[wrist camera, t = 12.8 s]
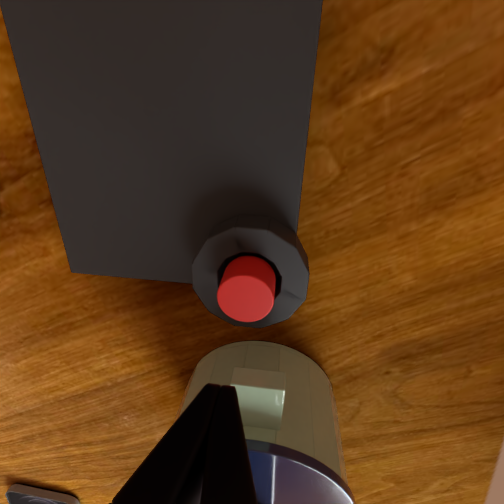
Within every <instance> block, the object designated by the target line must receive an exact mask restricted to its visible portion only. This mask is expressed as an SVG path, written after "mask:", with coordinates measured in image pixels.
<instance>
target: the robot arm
mask: <svg viewBox="0 0 504 504" xmlns="http://www.w3.org/2000/svg"><path fill="white" fill-rule="evenodd" d="M109 504H258V502H257V497H256V491H255V486H254V481H253V476H252V470H251V465H250V460H249V454H248V449H247V444H246V439H245V433H244V428H243V423H242V418H241V412H240V407H239V402H238V396H237V391H236V388H235V386H229V385H222V386H220V385H219V384H212V383H207V384H206V385H205V386H204V387H203V388H202V389H201V390H200V392H199V393H198V394H197V395H196V397H195V398H194V399H193V400H192V402H191V403H190V404H189V405H188V407H187V408H186V409H185V410H184V412H183V413H182V414H181V415H180V416H179V418H178V419H177V420H176V421H175V423H174V424H173V425H172V426H171V428H170V429H169V430H168V431H167V433H166V434H165V435H164V436H163V438H162V439H161V440H160V441H159V442H158V444H157V445H156V446H155V447H154V449H153V450H152V451H151V452H150V454H149V455H148V456H147V457H146V459H145V460H144V461H143V462H142V464H141V465H140V466H139V467H138V468H137V470H136V471H135V472H134V473H133V475H132V476H131V477H130V478H129V480H128V481H127V482H126V483H125V485H124V486H123V487H122V488H121V490H120V491H119V492H118V493H117V494H116V496H115V497H114V498H113V500H112V503H109Z"/></svg>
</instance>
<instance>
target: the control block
mask: <svg viewBox="0 0 504 504" xmlns="http://www.w3.org/2000/svg"><path fill="white" fill-rule="evenodd" d="M322 2H323V0H0V6H1V10H2V14H3V17H4V21H5V25H6V29H7V33H8V36H9V40H10V44H11V48H12V51H13V55H14V59H15V63H16V66H17V70H18V74H19V78H20V81H21V85H22V89H23V93H24V96H25V100H26V104H27V108H28V111H29V115H30V119H31V123H32V126H33V130H34V134H35V138H36V141H37V145H38V149H39V153H40V156H41V160H42V164H43V168H44V171H45V175H46V179H47V183H48V186H49V190H50V194H51V198H52V201H53V205H54V209H55V213H56V216H57V220H58V224H59V228H60V232H61V235H62V239H63V243H64V247H65V250H66V254H67V258H68V262H69V265H70V269H71V272H72V273H83V274H93V275H104V276H115V277H126V278H136V279H147V280H158V281H169V282H179V283H190V284H193V289H194V291H195V292H196V294H197V295H198V297H199V298H200V299H201V301H202V302H203V304H204V305H205V307H206V308H207V310H208V311H209V312H211V313H212V314H214V315H216V316H218V317H219V318H221V319H223V320H225V321H227V322H228V323H230V324H232V325H234V326H243V327H252V328H263V327H266V326H269V325H272V324H275V323H278V322H281V321H284V320H286V319H289V317H290V316H291V315H292V314H293V313H294V312H295V311H296V310H297V309H298V308H299V306H300V305H301V304H302V303H303V302H304V301H305V299H306V295H307V288H308V281H309V266H308V257H307V255H306V253H305V251H304V249H303V247H302V245H301V243H300V241H299V239H298V237H297V226H298V217H299V208H300V199H301V190H302V181H303V172H304V163H305V154H306V145H307V136H308V127H309V118H310V109H311V100H312V92H313V83H314V74H315V65H316V56H317V47H318V38H319V29H320V20H321V11H322ZM247 255H248V256H256V257H259V258H261V259H263V260H265V261H266V262H267V263H268V264H269V265H270V266H271V267H272V269H273V270H274V273H275V277H276V282H275V295H274V304H273V307H272V309H271V311H270V312H269V313H268V314H267V315H266V316H265V317H264V318H262V319H260V320H257V321H253V322H242V321H238V320H235V319H233V318H231V317H229V316H228V315H226V314H225V313H224V312H223V311H222V309H221V308H220V306H219V304H218V300H217V291H218V288H219V285H220V283H221V280H222V277H223V275H224V272H225V269H226V267H227V265H228V264H229V263H230V262H231V261H232V260H234V259H236V258H238V257H241V256H247Z"/></svg>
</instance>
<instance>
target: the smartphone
mask: <svg viewBox="0 0 504 504" xmlns="http://www.w3.org/2000/svg"><path fill="white" fill-rule="evenodd" d="M5 495H6V498H7V500H8V503H9V504H80V503H79V501H78V500H77V499H76V498H75V497H73V496H71V495H67V494H63V493H58V492H53V491H48V490H44V489H39V488H34V487H29V486H25V485H20V484H13V485H11V487H10V488H9V489H8V491H7V492H6V494H5Z"/></svg>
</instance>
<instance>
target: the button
mask: <svg viewBox="0 0 504 504" xmlns="http://www.w3.org/2000/svg"><path fill="white" fill-rule="evenodd" d="M275 282H276V277H275V273H274V270H273V269H272V267H271V266H270V265H269V264H268V263H267V262H266V261H265V260H263V259H261V258H259V257H256V256H248V255H247V256H241V257H238V258H236V259H234V260H232V261H231V262H230V263H229V264H228V265H227V267H226V269H225V272H224V275H223V277H222V280H221V283H220V285H219V288H218V291H217V300H218V304H219V306H220V308H221V309H222V311H223V312H224V313H225V314H226V315H228V316H229V317H231V318H233V319H235V320H238V321H242V322H253V321H257V320H260V319H262V318H264V317H265V316H266V315H267V314H268V313H269V312H270V311H271V309H272V307H273V304H274V295H275Z"/></svg>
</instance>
